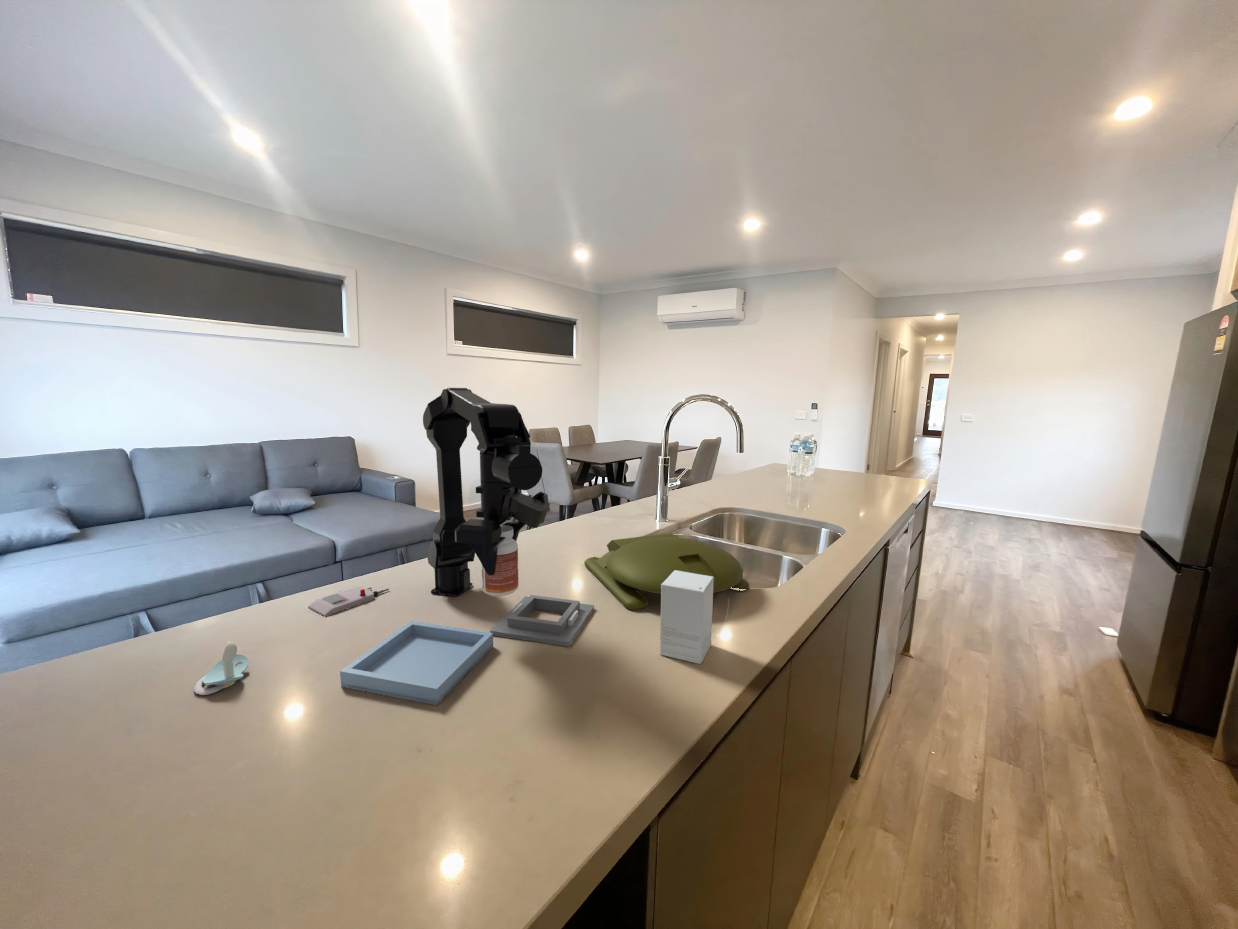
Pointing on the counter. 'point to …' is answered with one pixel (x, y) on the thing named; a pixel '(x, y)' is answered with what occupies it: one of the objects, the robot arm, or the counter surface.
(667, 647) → the supplement box
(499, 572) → the pill bottle
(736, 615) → the counter surface
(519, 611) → the grey square frame
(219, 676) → the pacifier
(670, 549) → the spaceship
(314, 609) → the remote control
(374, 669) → the tray
